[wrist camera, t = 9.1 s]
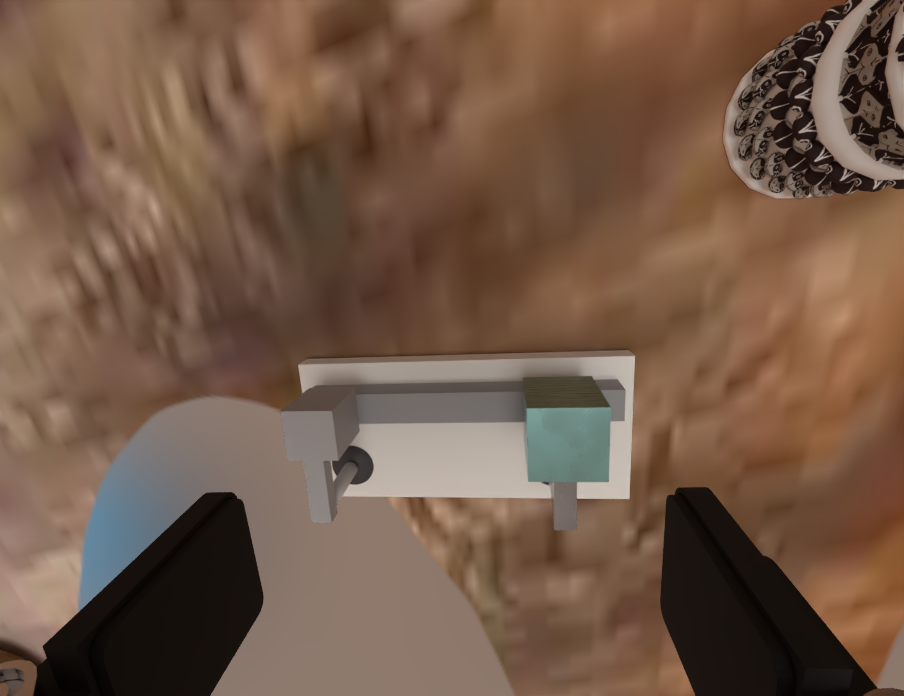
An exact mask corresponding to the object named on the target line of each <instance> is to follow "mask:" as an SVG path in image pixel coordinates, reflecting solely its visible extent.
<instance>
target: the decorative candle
mask: <svg viewBox="0 0 904 696" xmlns="http://www.w3.org/2000/svg"><path fill="white" fill-rule="evenodd" d="M722 141H723V144H724V147H725V151H726V154H727V157H728V161H729V164H730V168H731V169H732V170H733V171H734V172H735V173H736V174H737V176H738V177H739V178H740V179H741V180H742V181H743V182H744V183H745V184H746V185H747V187H748V188H750V189H752V190H755V191H757V192H760V193H762V194H765V195H767V196H770V197H772V198H775V199H785V198H796V199H803V198H809V197H811V196H814V197H830V196H832V195H833V194H834V193H835V192H836V193H841V194H843V195H850V194H853V193H854V192H855V191H856V190H857V189H859V190H861V191H870V192H875V191H878V190H881V189H883V188H884V187H886V186H887V185H888V184H889V185H890V186H891V187H893V188H895V189H904V0H847V1H846V3H845V6H842V5H841V6H835V7H833V8H830V9H829V10H828V11H826V12H825V14H824V15H823V17H822V19H821V21H814V22H811V23H808V24H806V25H804V26H802V27H801V28H800V29H799V30H798V31H797V32H796V33H795V35H793V36H790V37H787V38H785V39H784V40H782V41H781V42H780V43H779V44H778V46H777V47H776V49H774V50H772V51H770V52H769V53H767V54H766V55H765V56H764V57H763V58H762V59H761V60H760V61H759V62H758V63H757V64H756V65H755V66H754V67H753V68H752V69H751V70H750V71H749V72H747V73H746V74H745V75H744V76H743V77H742V78H741V80H740V82H739V84H738V86H737V88H736V90H735V92H734V94H733V96H732V98H731V100H730V102H729V104H728V106H727V108H726V113H725V122H724V130H723V139H722Z"/></svg>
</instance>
